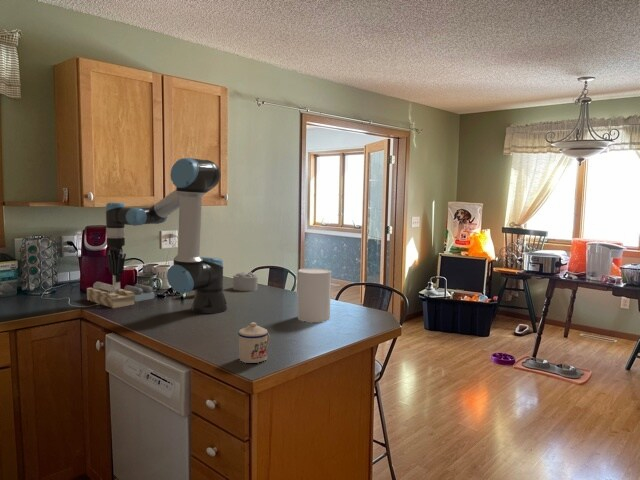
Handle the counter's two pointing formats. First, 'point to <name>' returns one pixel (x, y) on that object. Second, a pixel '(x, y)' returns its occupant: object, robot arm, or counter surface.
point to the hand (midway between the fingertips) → (116, 289)
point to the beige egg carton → (111, 297)
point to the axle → (105, 287)
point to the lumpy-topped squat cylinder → (245, 282)
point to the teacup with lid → (253, 343)
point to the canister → (314, 294)
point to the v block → (141, 292)
